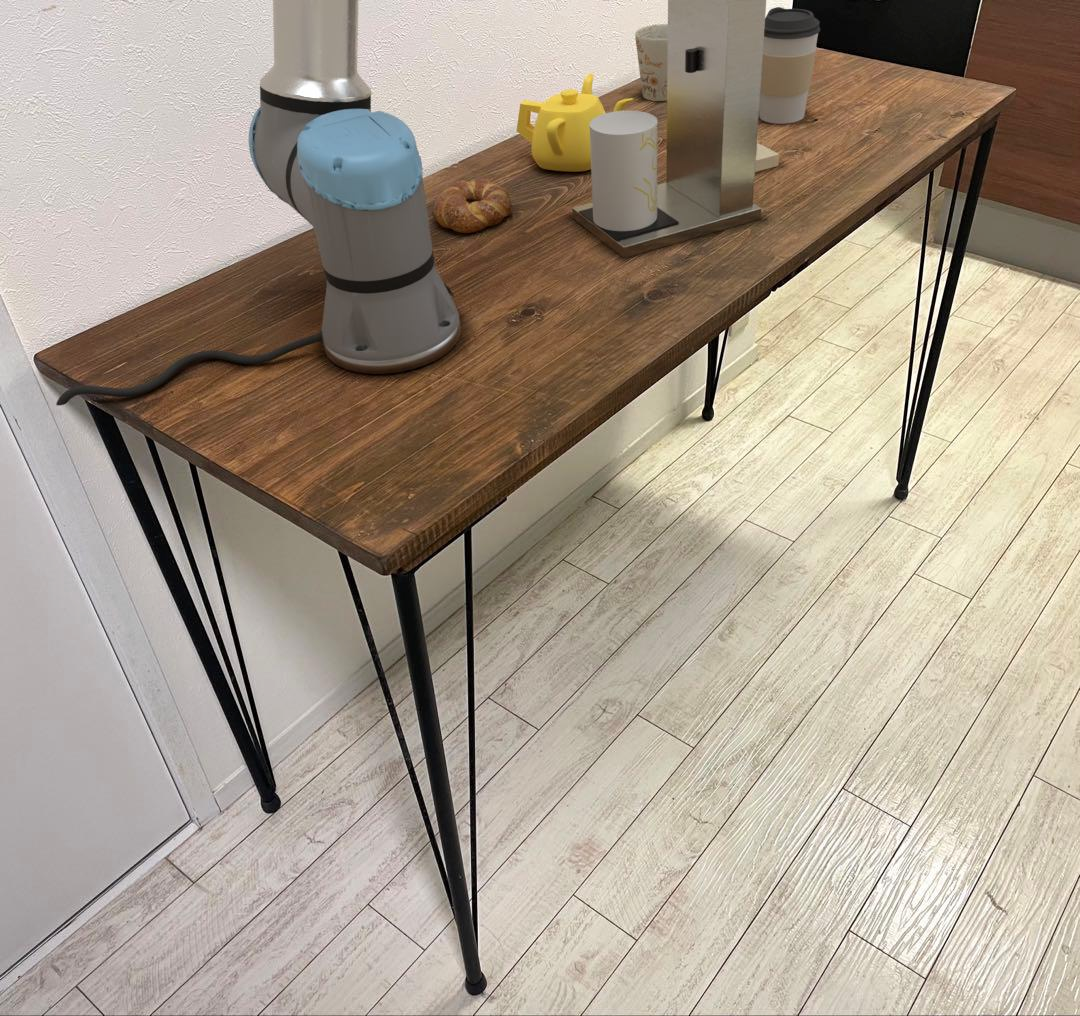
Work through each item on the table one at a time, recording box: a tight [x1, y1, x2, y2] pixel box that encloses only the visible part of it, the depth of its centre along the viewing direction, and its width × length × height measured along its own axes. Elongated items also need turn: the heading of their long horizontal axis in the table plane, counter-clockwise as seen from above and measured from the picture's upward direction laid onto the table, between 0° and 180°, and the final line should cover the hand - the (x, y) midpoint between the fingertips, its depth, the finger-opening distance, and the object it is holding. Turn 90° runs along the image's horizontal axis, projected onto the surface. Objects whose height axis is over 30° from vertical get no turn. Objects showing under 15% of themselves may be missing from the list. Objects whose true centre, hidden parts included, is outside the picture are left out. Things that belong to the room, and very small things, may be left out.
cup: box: [590, 110, 659, 231], centre depth 126 cm, size 8×8×12 cm
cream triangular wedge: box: [755, 140, 780, 173], centre depth 144 cm, size 10×8×4 cm
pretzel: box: [432, 178, 513, 234], centre depth 136 cm, size 12×11×4 cm
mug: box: [634, 23, 668, 102], centre depth 166 cm, size 8×13×10 cm, turn 96°
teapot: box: [516, 73, 634, 173], centre depth 147 cm, size 14×13×10 cm
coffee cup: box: [759, 6, 821, 125], centre depth 153 cm, size 9×9×15 cm
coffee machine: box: [571, 0, 767, 259], centre depth 123 cm, size 20×14×29 cm
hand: (731, 11), depth 131 cm, fingers closed
